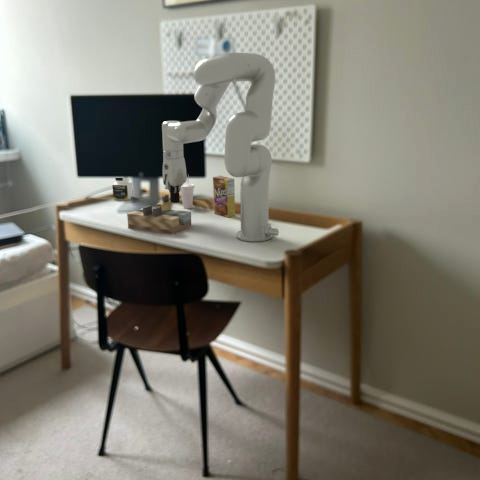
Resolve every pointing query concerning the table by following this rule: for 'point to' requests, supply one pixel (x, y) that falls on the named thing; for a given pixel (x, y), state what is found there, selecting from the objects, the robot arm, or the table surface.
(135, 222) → the lock frame
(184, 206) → the smoothie
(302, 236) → the table surface
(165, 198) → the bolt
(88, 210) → the table surface
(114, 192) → the medicine bottle
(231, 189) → the candy box
